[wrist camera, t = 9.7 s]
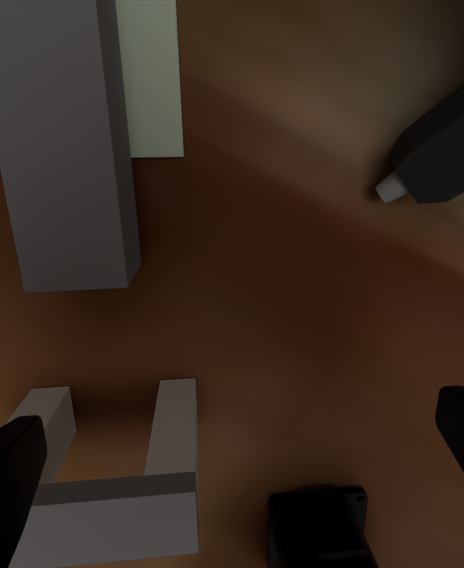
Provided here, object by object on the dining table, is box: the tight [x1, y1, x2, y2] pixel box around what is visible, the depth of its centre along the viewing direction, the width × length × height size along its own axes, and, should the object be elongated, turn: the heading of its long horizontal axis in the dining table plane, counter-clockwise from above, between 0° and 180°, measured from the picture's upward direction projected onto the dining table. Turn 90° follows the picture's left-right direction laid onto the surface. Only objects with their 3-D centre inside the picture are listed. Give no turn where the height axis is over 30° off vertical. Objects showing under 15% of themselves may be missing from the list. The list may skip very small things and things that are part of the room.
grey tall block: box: [0, 0, 142, 293], centre depth 15 cm, size 15×4×4 cm, turn 2°
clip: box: [6, 378, 199, 568], centre depth 18 cm, size 3×9×8 cm, turn 91°
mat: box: [115, 0, 184, 158], centre depth 16 cm, size 10×9×1 cm
